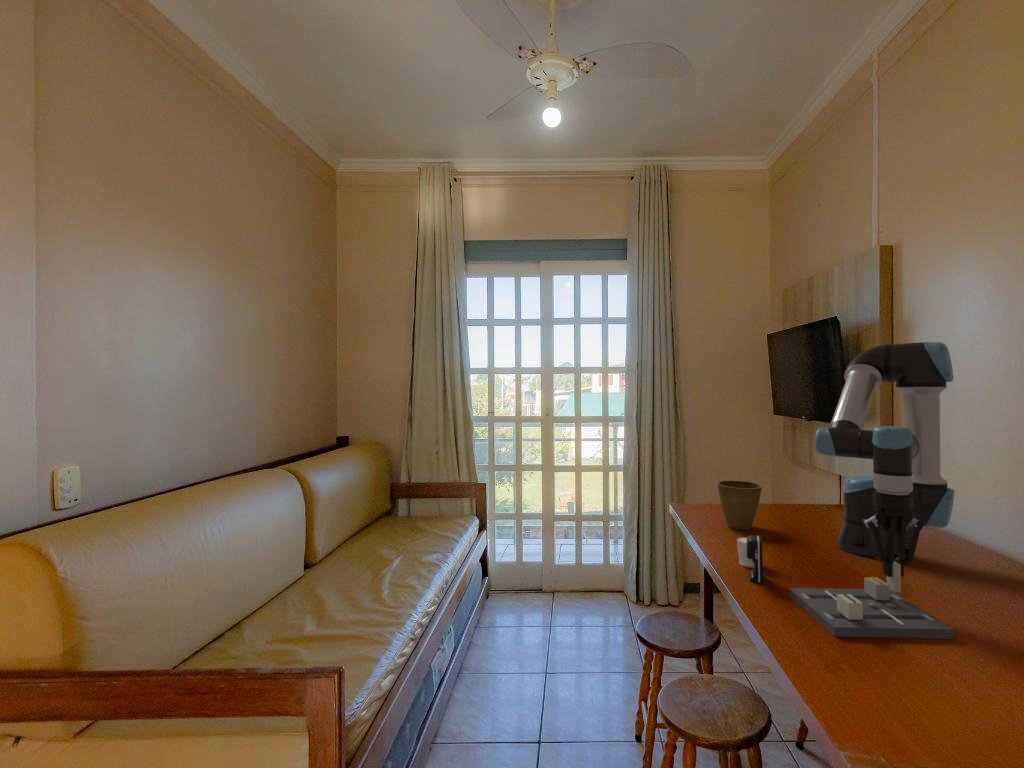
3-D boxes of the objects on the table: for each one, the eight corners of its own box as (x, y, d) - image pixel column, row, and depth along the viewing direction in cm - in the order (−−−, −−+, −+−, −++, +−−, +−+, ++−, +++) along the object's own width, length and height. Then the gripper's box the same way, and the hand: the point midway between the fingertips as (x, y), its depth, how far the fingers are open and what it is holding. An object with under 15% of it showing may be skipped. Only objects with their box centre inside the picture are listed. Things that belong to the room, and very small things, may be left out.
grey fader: (877, 592, 122) (876, 576, 122) (889, 600, 117) (889, 583, 117) (864, 592, 122) (864, 576, 122) (876, 599, 118) (875, 583, 118)
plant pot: (760, 535, 174) (759, 489, 174) (714, 529, 182) (714, 485, 182) (764, 524, 186) (763, 482, 186) (721, 519, 194) (721, 478, 194)
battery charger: (746, 573, 141) (746, 532, 141) (761, 574, 140) (761, 534, 140) (747, 582, 135) (746, 540, 135) (762, 584, 133) (762, 541, 133)
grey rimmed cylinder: (765, 568, 144) (765, 544, 144) (740, 567, 145) (739, 543, 145) (758, 560, 151) (758, 537, 151) (734, 559, 152) (734, 536, 152)
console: (888, 597, 124) (888, 586, 124) (954, 638, 104) (953, 626, 104) (788, 595, 126) (788, 585, 126) (834, 636, 106) (834, 624, 106)
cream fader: (850, 610, 113) (850, 593, 113) (862, 619, 108) (862, 601, 108) (836, 610, 113) (836, 592, 113) (848, 619, 108) (848, 601, 108)
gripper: (909, 487, 123) (910, 583, 123) (854, 488, 123) (855, 583, 124) (933, 494, 115) (934, 596, 115) (874, 494, 116) (875, 596, 116)
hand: (893, 589), depth 119 cm, fingers closed
